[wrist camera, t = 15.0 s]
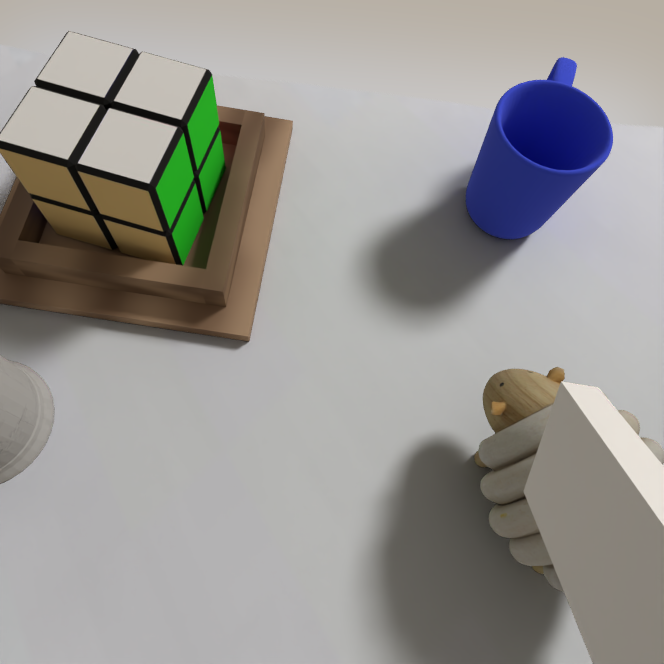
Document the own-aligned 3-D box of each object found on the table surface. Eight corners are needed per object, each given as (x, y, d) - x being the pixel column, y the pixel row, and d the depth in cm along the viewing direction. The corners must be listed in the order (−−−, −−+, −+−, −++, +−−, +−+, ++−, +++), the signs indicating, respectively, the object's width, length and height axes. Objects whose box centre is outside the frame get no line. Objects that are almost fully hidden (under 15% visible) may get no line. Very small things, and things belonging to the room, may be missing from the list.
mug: (565, 156, 50) (629, 63, 40) (538, 265, 45) (604, 190, 36) (477, 126, 50) (521, 28, 41) (442, 232, 46) (482, 149, 36)
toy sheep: (523, 365, 42) (602, 302, 31) (674, 580, 37) (825, 588, 26) (405, 432, 39) (449, 387, 29) (551, 673, 34) (666, 722, 24)
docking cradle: (292, 129, 48) (293, 98, 45) (249, 341, 41) (246, 322, 37) (61, 91, 48) (45, 57, 44) (-27, 299, 40) (-54, 276, 37)
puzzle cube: (110, 134, 45) (66, 25, 36) (227, 167, 45) (213, 66, 36) (53, 235, 41) (-12, 142, 32) (182, 272, 41) (152, 189, 32)
